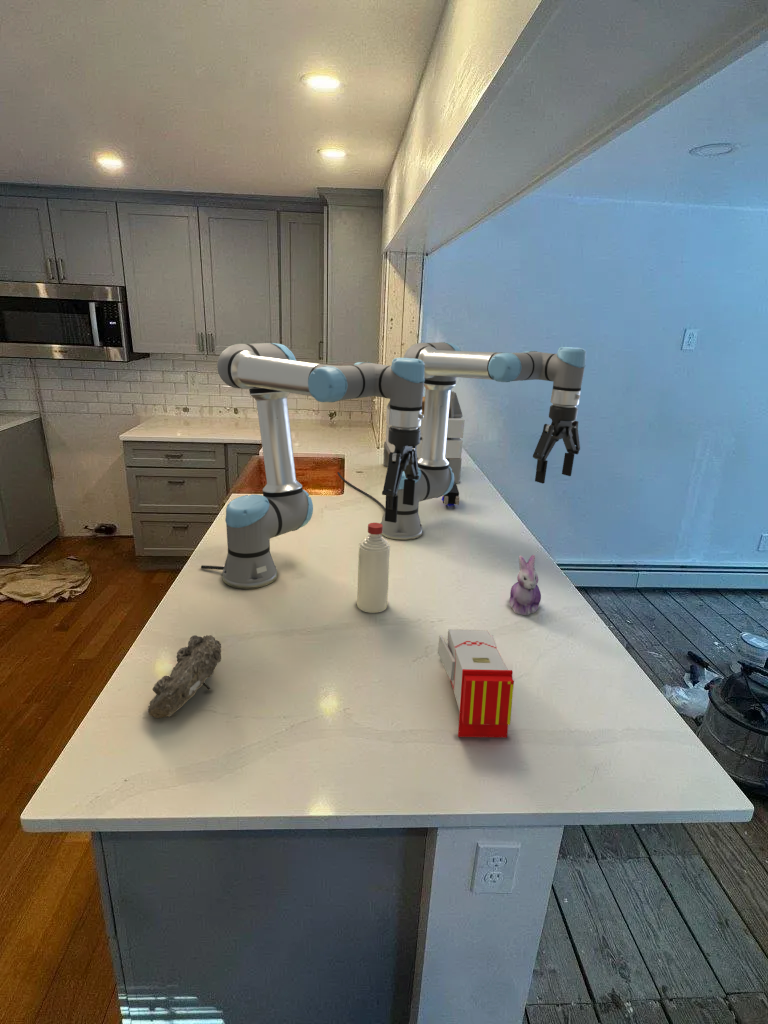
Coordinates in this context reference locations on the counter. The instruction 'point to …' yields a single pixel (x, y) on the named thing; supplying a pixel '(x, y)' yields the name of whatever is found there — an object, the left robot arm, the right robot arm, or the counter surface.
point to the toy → (478, 682)
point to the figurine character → (451, 497)
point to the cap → (375, 528)
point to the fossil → (186, 675)
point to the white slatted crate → (453, 437)
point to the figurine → (525, 588)
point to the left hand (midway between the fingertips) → (399, 512)
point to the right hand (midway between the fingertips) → (553, 478)
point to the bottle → (373, 573)
